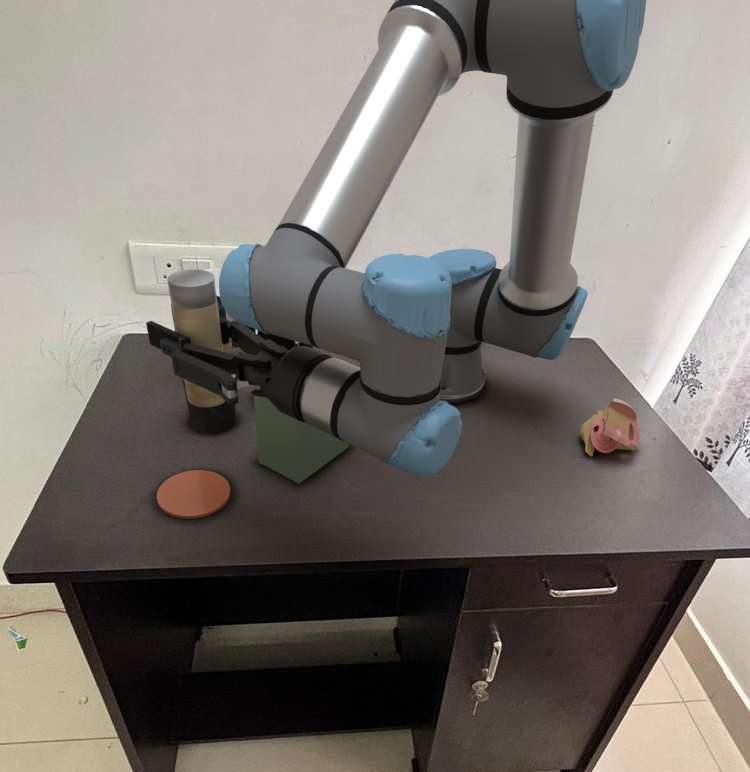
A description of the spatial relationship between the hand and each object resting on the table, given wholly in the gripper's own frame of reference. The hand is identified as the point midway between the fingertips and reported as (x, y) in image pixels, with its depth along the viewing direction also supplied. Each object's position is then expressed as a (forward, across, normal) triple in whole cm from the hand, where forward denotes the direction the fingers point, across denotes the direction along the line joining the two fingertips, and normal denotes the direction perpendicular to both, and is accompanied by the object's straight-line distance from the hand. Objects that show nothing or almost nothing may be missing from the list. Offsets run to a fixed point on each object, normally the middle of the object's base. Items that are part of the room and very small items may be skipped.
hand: (170, 324), depth 76 cm
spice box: (-8, +15, -24) cm, 29 cm away
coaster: (-2, -2, -24) cm, 24 cm away
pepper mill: (0, 0, -5) cm, 5 cm away
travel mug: (+9, +12, -24) cm, 28 cm away
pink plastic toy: (-45, +47, -24) cm, 69 cm away
